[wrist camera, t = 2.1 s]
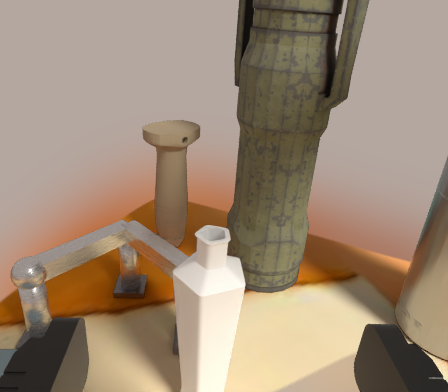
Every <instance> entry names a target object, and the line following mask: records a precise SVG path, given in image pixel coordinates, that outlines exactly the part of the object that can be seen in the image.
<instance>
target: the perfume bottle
mask: <svg viewBox="0 0 448 392" xmlns="http://www.w3.org/2000/svg"><path fill="white" fill-rule="evenodd" d="M195 236H196V237H197V251H196V252H195V253H193V254H192V255H191V256H190V257H189V258H187V259H186V260H185V261H184V262H183V263H181V264H180V265H179V266H178V267H177V268H175V269H174V270H173V283H174V296H175V309H176V321H177V334H178V347H179V359H180V372H181V385H182V388H181V390H180V392H224V388H225V383H226V378H227V373H228V369H229V364H230V359H231V354H232V349H233V344H234V339H235V334H236V329H237V324H238V320H239V315H240V310H241V305H242V300H243V295H244V290H245V285H246V283H245V279H244V275H243V270H242V266H241V262H240V259H239V258H237V257H232V256H227V248H228V242H229V241H230V240H231V238H230V233H229V230H228V229H227V228H224V227H218V226H213V225H205V226H204V227H202V228H201V229H200V230H198V231H197V232H196V233H195Z"/></svg>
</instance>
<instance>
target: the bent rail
mask: <svg viewBox="0 0 448 392" xmlns="http://www.w3.org/2000/svg"><path fill="white" fill-rule="evenodd" d="M117 247H119V261H120V274H119V276H118V280H117V283H116V286H115V289H114V292H113V296H114V298H144V294H145V289H146V284H147V275H140V254H141V255H142V256H144V257H145V258H146V259H148V260H149V261H150V262H151V263H153V264H154V265H155V266H157V267H158V268H159V269H161V270H162V271H163V272H165V273H166V274H167V275H168V276H170V277H171V278H172V279H173V270H174V269H175V268H177V267H178V266H179V265H180V264H181V263H183V262H184V261H185V260H186V259H187V258H189V256H187V255H186V254H184V253H183V252H181V251H180V250H178V249H177V248H175V247H174V246H172V245H171V244H170V243H168V242H167V241H165V240H164V239H162V238H161V237H159V236H158V235H156V234H155V233H153V232H152V231H150V230H149V229H147V228H146V227H145V226H143V225H142V224H140V223H139V222H137V221H136V220H133V221H131V222H126V221H124V220H120V221H118V222H115V223H113V224H111V225H108V226H106V227H103V228H101V229H99V230H96V231H94V232H91V233H89V234H86V235H84V236H81V237H79V238H77V239H74V240H72V241H69V242H67V243H65V244H62V245H60V246H57V247H55V248H52V249H50V250H48V251H45V252H43V253H40V254H38V255H35V256H33V257H25V258H22V259H20V260H19V261H17V262H16V263H15V264H14V266H13V267H12V270H11V279H12V282H13V283H14V285H15V286H17V287H18V291H19V296H20V301H21V305H22V310H23V314H24V319H25V324H26V328H27V329H26V331H25V332H24V334H23V336H22V338H21V340H20V342H19V343H18V345H17V347H16V349H19V348H20V347H21V346H22V345H23V344H24V343H25V342H26V341H27V340H28V339H30V338H31V337H37V338H43V337H44V335H45V333H46V331H47V329H48V327H49V325H50V323H51V321H52V318H51V312H50V306H49V300H48V295H47V289H46V283H45V281H47V280H49V279H51V278H54V277H56V276H58V275H60V274H62V273H64V272H66V271H68V270H71V269H73V268H75V267H77V266H79V265H81V264H83V263H86V262H88V261H90V260H92V259H94V258H96V257H98V256H100V255H103V254H105V253H107V252H109V251H111V250H113V249H115V248H117ZM173 354H179V347H178V334H177V323H176V324H175V335H174V347H173Z"/></svg>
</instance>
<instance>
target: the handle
mask: <svg viewBox="0 0 448 392" xmlns="http://www.w3.org/2000/svg"><path fill="white" fill-rule="evenodd" d="M199 137H200V126H199V125H198V124H196V123H193V122H189V121H183V120H176V121H175V120H174V121H162V122H155V123H151V124H148V125H146V126H143V139H144V140H145V141H146V142H147V143H149V144H151V145H153V146H155V147H156V150H157V167H156V168H157V169H156V187H155V219H156V227H157V231H158V233H159V234H157V235H158V236H159V237H161V238H162V239H164V240H165V241H167V242H168V243H170V244H171V245H172V246H174V247H178V246H180V244H181V242H182V241H183V240H184V236H185V232H184V231H185V227H186V221H187V211H188V192H187V168H186V167H187V163H186V154H187V147H188V145H190V144H192V143H193V142H194V141H196V140H197V139H198V138H199Z"/></svg>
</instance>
